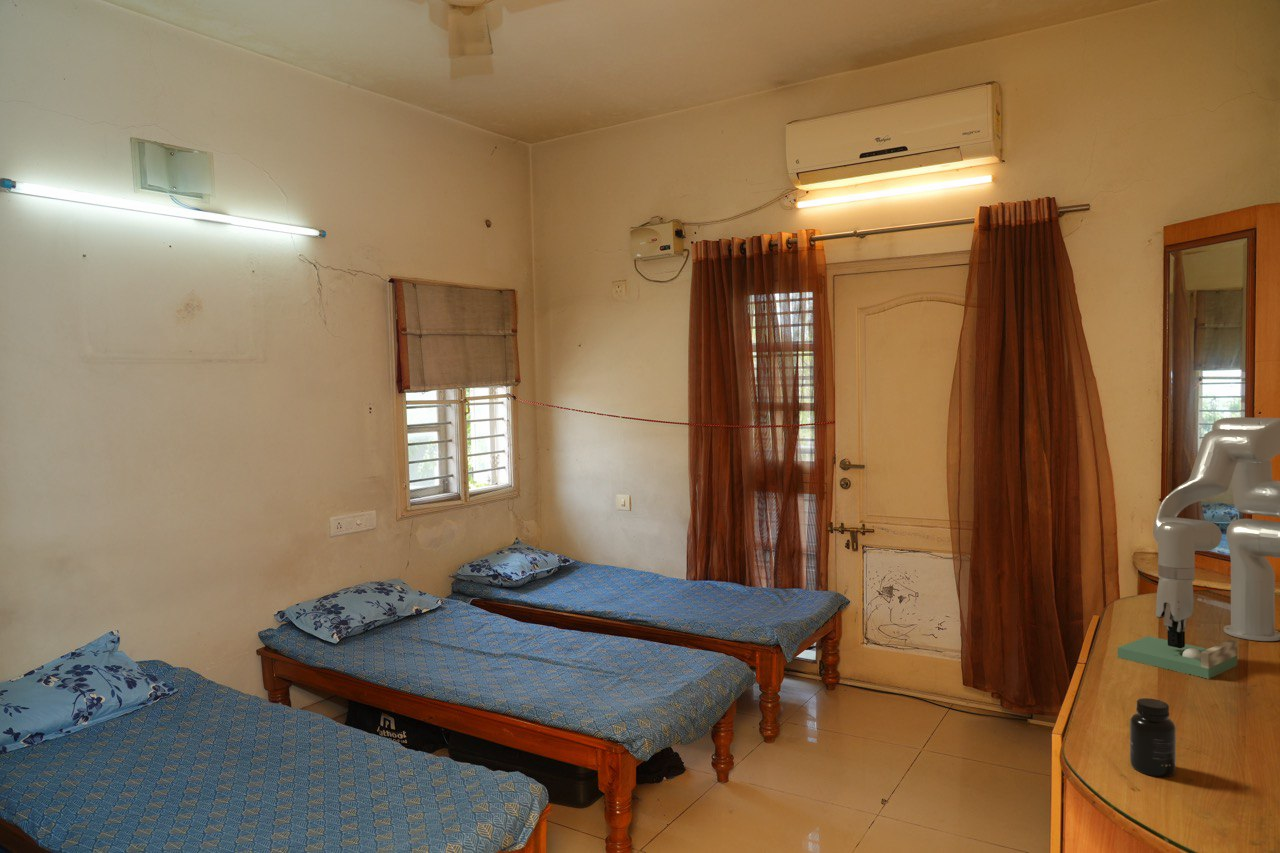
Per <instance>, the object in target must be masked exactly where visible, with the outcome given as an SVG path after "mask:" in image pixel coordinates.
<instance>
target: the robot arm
mask: <svg viewBox="0 0 1280 853" xmlns="http://www.w3.org/2000/svg"><path fill="white" fill-rule="evenodd" d="M1196 454H1197V455H1196V458H1195V461H1194V463H1193V467H1192V470H1191V472H1190V476H1189V478H1188V479H1187V480H1186V481H1185V482H1183V483H1182V484H1180V485H1179V486H1177V487H1175V488H1174V489H1173V490H1171V492H1170V493H1168V495H1166V496H1165V498H1164V499H1163V500H1162V502H1161V503H1160V505H1159V507H1158V510H1157V512H1156V516H1155V519H1154V522H1153V529H1152V534H1153V535H1152V536H1153V537H1154V539H1155V541H1156V542H1157V544H1158V545H1157V549H1158V550H1157V553H1158V554H1157V557H1158V558H1157V561H1158V562H1157V578H1159V579H1158V584H1157V589H1156V590H1157V591H1156V602H1155V603H1156V604H1155V606H1156V607H1155V617H1156V618H1157V619H1162V618H1163V626H1166V630H1167V640H1168V646H1172V647H1176V648H1183V647H1185V644H1186V627H1187V626H1186V623H1187V620H1189V618H1190V617H1192V616H1193V614H1194V607H1195V604H1194V603H1195V602H1194V588H1193V587H1194V585H1193V582H1195V579H1196V578H1195V576H1196V574H1195V572H1196V567H1195V566H1196V565H1195V564H1196V563H1195V562H1196V555H1195V554H1196V553H1195V552H1197V551H1198V552H1199V551H1200V552H1209V551H1213V550H1215V549H1216V548H1217V547H1218V546H1219V545H1220V544H1221V542H1222V538H1223V535H1222V534H1223V533H1222V531H1221V529H1220V527H1219V526H1218V525H1217V524H1215V523H1214V522H1211V521H1207V520H1203V519H1202V520H1201V519H1193V518H1184V517H1178V516H1179V514H1180V513H1181V512H1182V511H1183V510H1184V509H1185V508H1186V507H1189V505H1192V504H1195V503H1198V502H1201V501H1203V500H1204V501H1205V500H1206V499H1211V498H1214V497H1217V496H1221V495H1223V494H1225V493H1226V492H1227V491H1228V490H1229V489H1230V485H1231V483H1232V500H1233V506H1234V508H1235V510H1236V511H1238V512H1240V513H1243V514H1247V515H1256V516H1265V517H1273V518H1280V480H1274V478H1273V468H1272V467H1273V466H1272V459H1273V458H1275V457H1276V456H1278V455H1279V454H1280V417H1251V416H1250V417H1245V416H1244V417H1243V416H1241V417H1240V416H1238V417H1236V416H1235V417H1222V418H1221V419H1217V420H1215V421H1214V422H1213V425H1212V427H1211V430H1210V431H1208V432H1207V433H1206V434H1204V436H1202V440H1201V443H1200V445H1199V449H1198V451H1197V453H1196ZM1226 540H1227V545H1228V550H1229V556H1230V624H1227V625H1225V626H1224V627H1223V632H1224V633H1225V634H1227V635H1229V636H1231V637H1233V638H1234V637H1235V638H1239V639H1243V640H1249V641H1259V642H1276V641H1278V642H1279V641H1280V632H1279V631H1278V630H1276V628H1275V626H1276V625H1275V624H1276V623H1275V622H1276V617H1275V616H1276V615H1275V614H1276V611H1275V608H1276V606H1275V605H1276V603H1275V602H1276V599H1275V598H1276V594H1275V593H1276V591H1275V589H1276V583H1275V582H1276V575H1275V568H1274V567H1273V566H1272V564H1271V563H1270V561H1269V560H1268V559H1267V558H1268V557H1270V558H1276V559H1280V521H1275V520H1266V519H1258V518H1257V519H1255V518H1238V519H1235V520H1232V522H1230V523H1229V525H1228V526H1227V527H1226Z"/></svg>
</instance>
